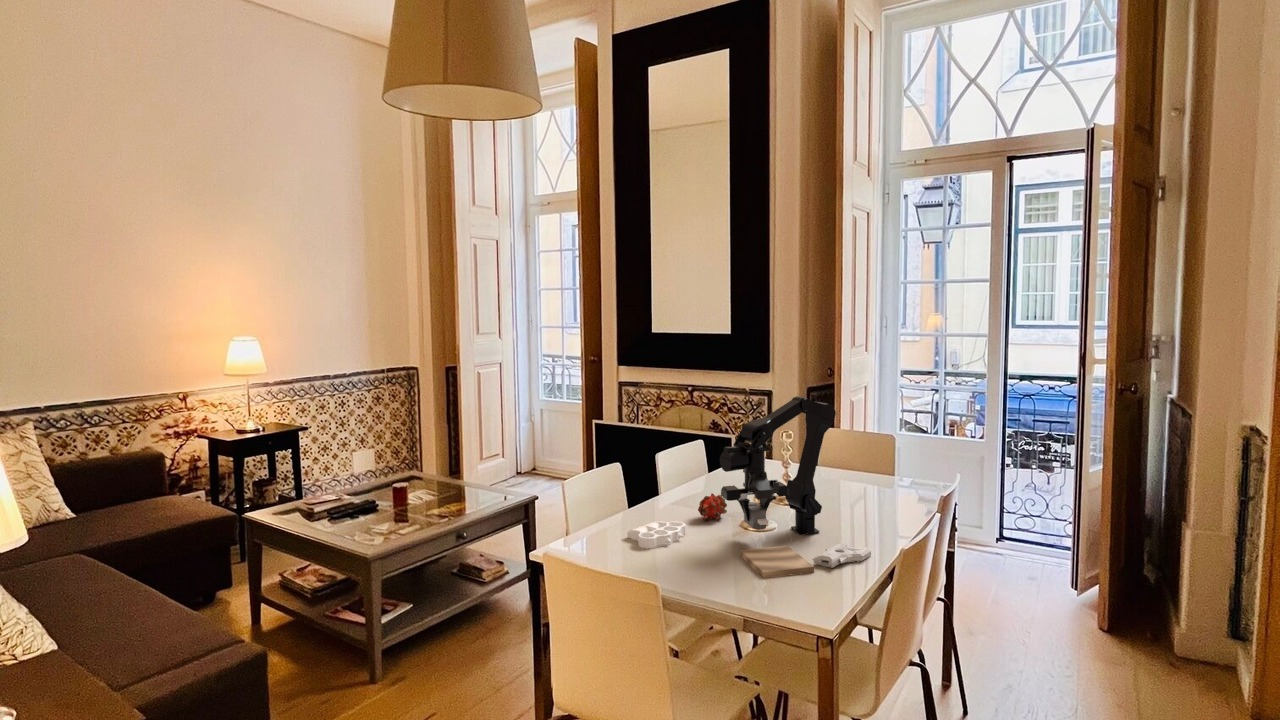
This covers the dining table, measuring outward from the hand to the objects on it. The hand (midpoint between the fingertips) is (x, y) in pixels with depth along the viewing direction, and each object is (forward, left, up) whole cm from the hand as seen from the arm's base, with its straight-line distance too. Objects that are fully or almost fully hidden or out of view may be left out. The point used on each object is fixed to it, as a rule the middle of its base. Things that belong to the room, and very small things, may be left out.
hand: (754, 520), depth 202 cm
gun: (+19, +17, -7) cm, 27 cm away
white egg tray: (-11, -26, -7) cm, 29 cm away
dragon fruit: (-24, -5, -7) cm, 25 cm away
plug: (0, 0, -1) cm, 1 cm away
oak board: (+17, -1, -6) cm, 18 cm away
